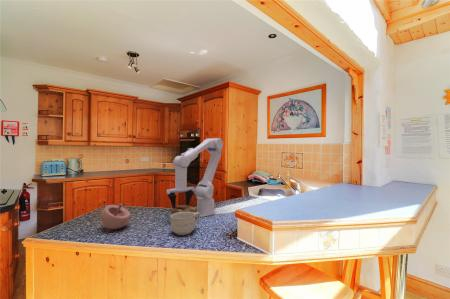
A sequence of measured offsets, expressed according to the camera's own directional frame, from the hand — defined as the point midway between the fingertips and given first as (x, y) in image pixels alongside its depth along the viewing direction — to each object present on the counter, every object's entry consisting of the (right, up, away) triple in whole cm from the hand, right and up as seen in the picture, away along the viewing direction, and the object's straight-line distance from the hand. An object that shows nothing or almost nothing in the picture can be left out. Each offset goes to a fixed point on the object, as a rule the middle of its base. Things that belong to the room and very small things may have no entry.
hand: (180, 206), depth 104 cm
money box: (+1, -7, +1) cm, 8 cm away
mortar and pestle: (-27, -7, -10) cm, 30 cm away
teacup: (+5, -8, -13) cm, 16 cm away
